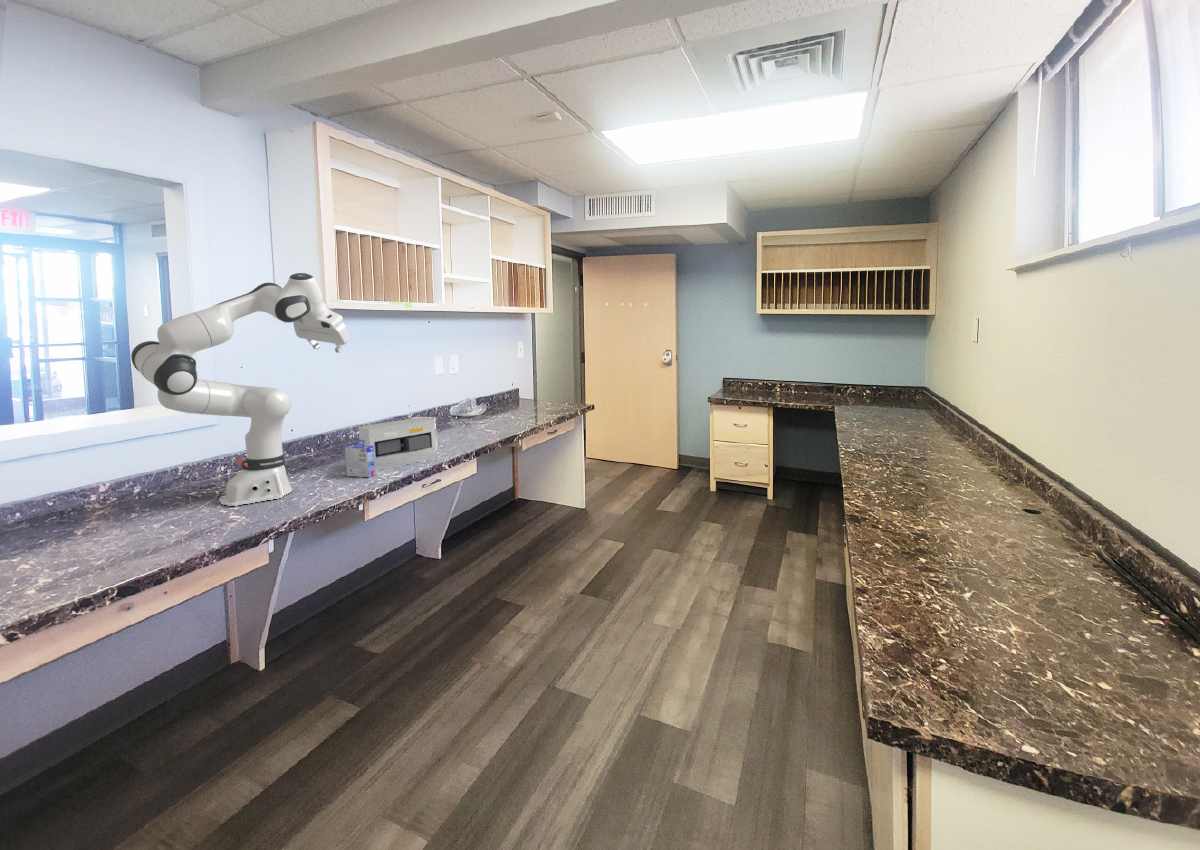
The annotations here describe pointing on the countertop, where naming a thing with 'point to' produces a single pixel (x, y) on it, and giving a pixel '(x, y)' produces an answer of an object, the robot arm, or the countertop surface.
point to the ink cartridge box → (360, 460)
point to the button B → (416, 442)
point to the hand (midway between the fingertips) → (327, 350)
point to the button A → (387, 446)
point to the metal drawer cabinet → (400, 431)
